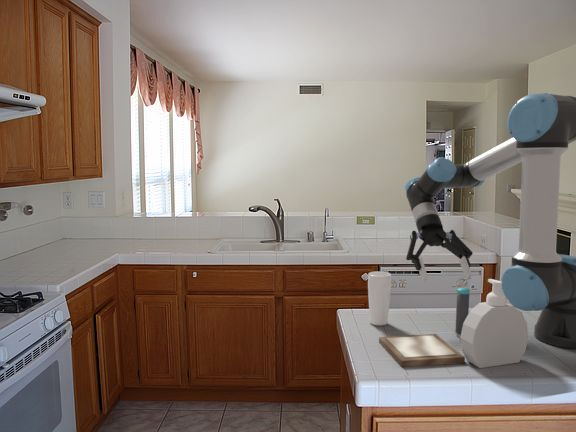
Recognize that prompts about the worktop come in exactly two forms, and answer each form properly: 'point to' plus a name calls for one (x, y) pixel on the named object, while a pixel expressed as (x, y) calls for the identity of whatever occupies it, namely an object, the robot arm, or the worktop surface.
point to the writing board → (420, 350)
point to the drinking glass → (379, 297)
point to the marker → (461, 309)
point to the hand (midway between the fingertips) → (447, 278)
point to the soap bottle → (494, 331)
